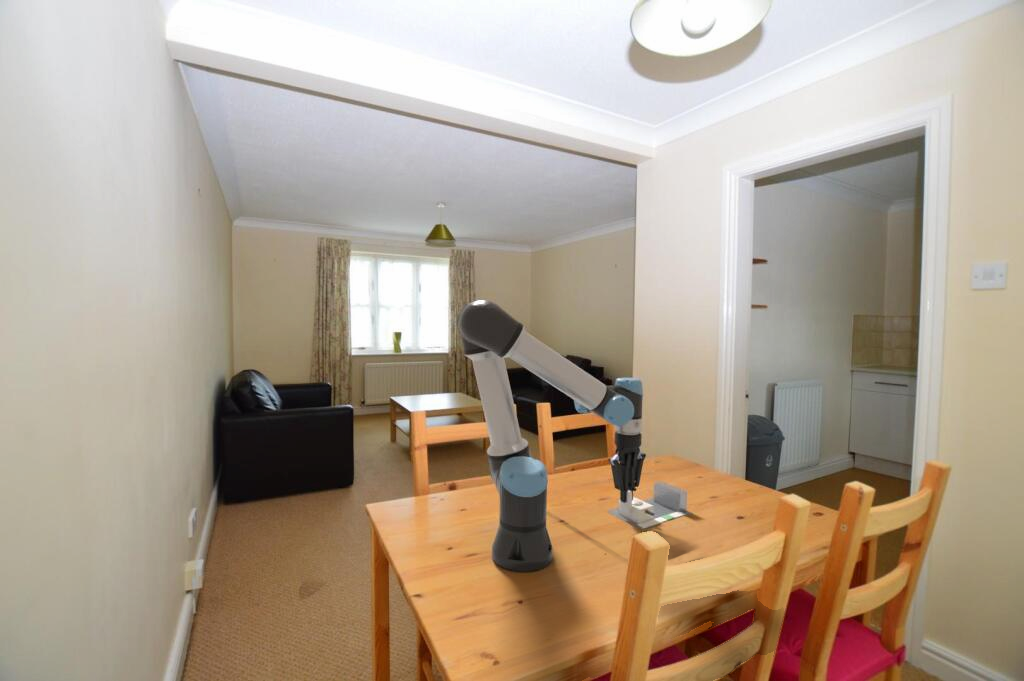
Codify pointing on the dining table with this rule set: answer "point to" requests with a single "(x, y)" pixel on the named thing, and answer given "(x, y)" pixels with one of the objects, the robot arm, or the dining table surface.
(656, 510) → the gauge board
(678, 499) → the upright metal panel
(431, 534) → the dining table surface
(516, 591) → the dining table surface
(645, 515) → the gauge carriage
